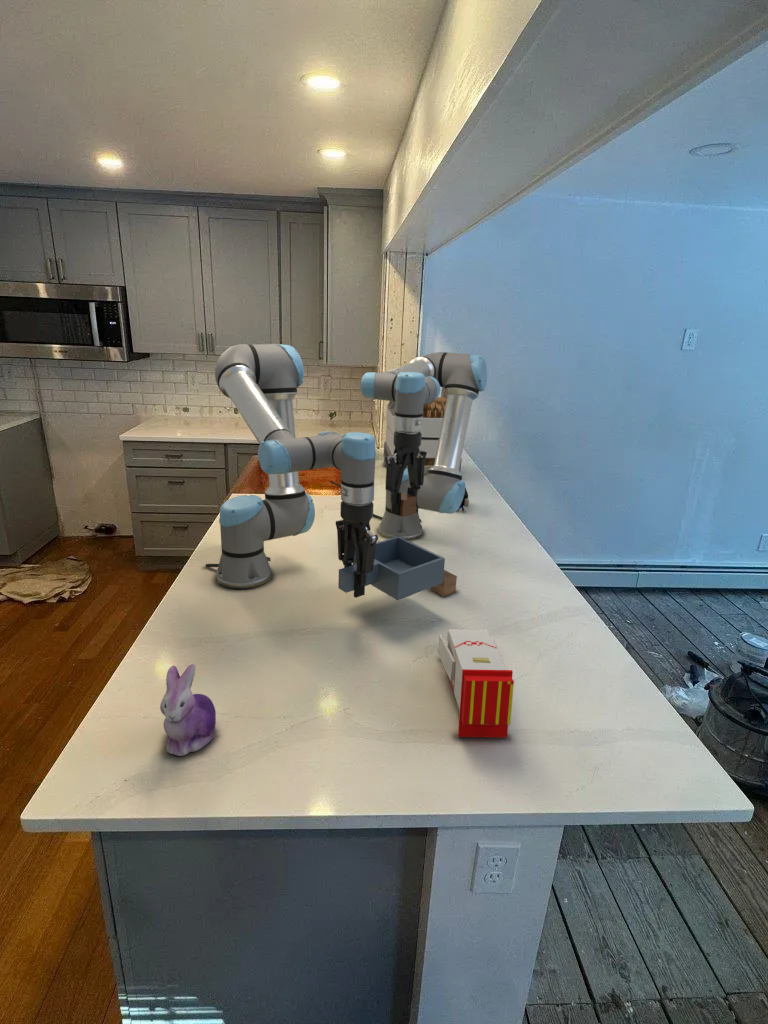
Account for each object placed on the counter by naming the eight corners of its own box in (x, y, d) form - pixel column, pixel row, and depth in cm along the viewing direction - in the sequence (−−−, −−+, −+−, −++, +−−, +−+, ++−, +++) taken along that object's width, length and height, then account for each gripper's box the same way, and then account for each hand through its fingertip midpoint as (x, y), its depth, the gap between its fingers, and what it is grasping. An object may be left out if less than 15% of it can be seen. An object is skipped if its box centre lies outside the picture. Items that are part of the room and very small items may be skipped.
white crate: (382, 463, 289) (386, 382, 275) (445, 464, 293) (451, 384, 279) (390, 482, 257) (394, 392, 243) (460, 483, 261) (468, 394, 247)
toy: (488, 613, 130) (523, 677, 101) (484, 667, 133) (517, 744, 104) (435, 612, 130) (455, 676, 101) (432, 666, 133) (451, 743, 103)
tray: (320, 584, 141) (320, 558, 139) (397, 559, 157) (398, 536, 155) (364, 613, 129) (365, 585, 127) (442, 583, 145) (445, 558, 143)
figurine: (168, 766, 96) (159, 693, 91) (160, 728, 104) (152, 659, 99) (224, 749, 100) (219, 678, 95) (212, 714, 109) (207, 646, 103)
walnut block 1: (390, 512, 162) (391, 495, 160) (403, 508, 165) (404, 492, 163) (402, 517, 158) (403, 500, 156) (415, 513, 161) (416, 497, 159)
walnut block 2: (430, 590, 161) (431, 574, 159) (442, 585, 164) (444, 569, 162) (443, 596, 157) (444, 580, 156) (455, 591, 161) (456, 576, 159)
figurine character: (468, 516, 224) (463, 500, 237) (471, 498, 221) (465, 483, 234) (452, 515, 224) (447, 499, 237) (453, 498, 220) (449, 482, 234)
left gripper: (323, 494, 133) (322, 584, 141) (366, 514, 122) (363, 610, 130) (348, 489, 138) (346, 576, 146) (392, 508, 126) (387, 601, 134)
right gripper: (392, 437, 145) (388, 522, 153) (440, 430, 156) (434, 509, 164) (373, 432, 150) (370, 514, 158) (421, 425, 162) (416, 502, 169)
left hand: (354, 592), depth 138 cm, fingers closed on tray, 3 cm apart
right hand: (403, 511), depth 161 cm, fingers closed on walnut block 1, 5 cm apart
